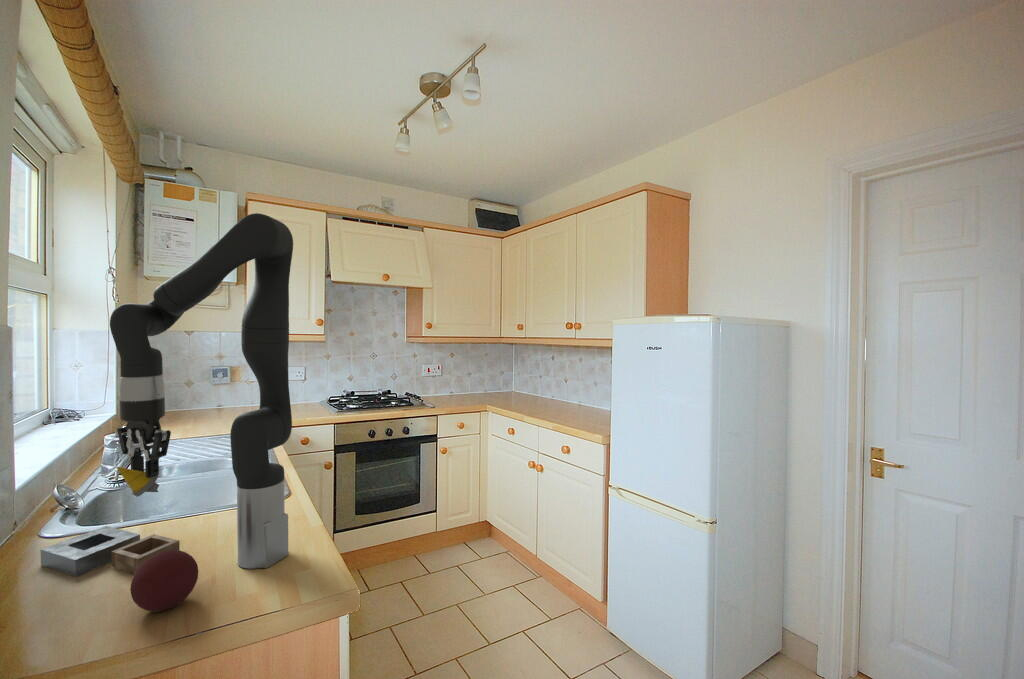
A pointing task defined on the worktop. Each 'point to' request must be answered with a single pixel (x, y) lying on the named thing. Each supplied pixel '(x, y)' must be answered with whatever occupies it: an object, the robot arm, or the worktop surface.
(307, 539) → the worktop surface
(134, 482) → the drill bit
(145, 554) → the wooden square frame
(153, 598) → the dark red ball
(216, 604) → the worktop surface
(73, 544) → the hub plate
